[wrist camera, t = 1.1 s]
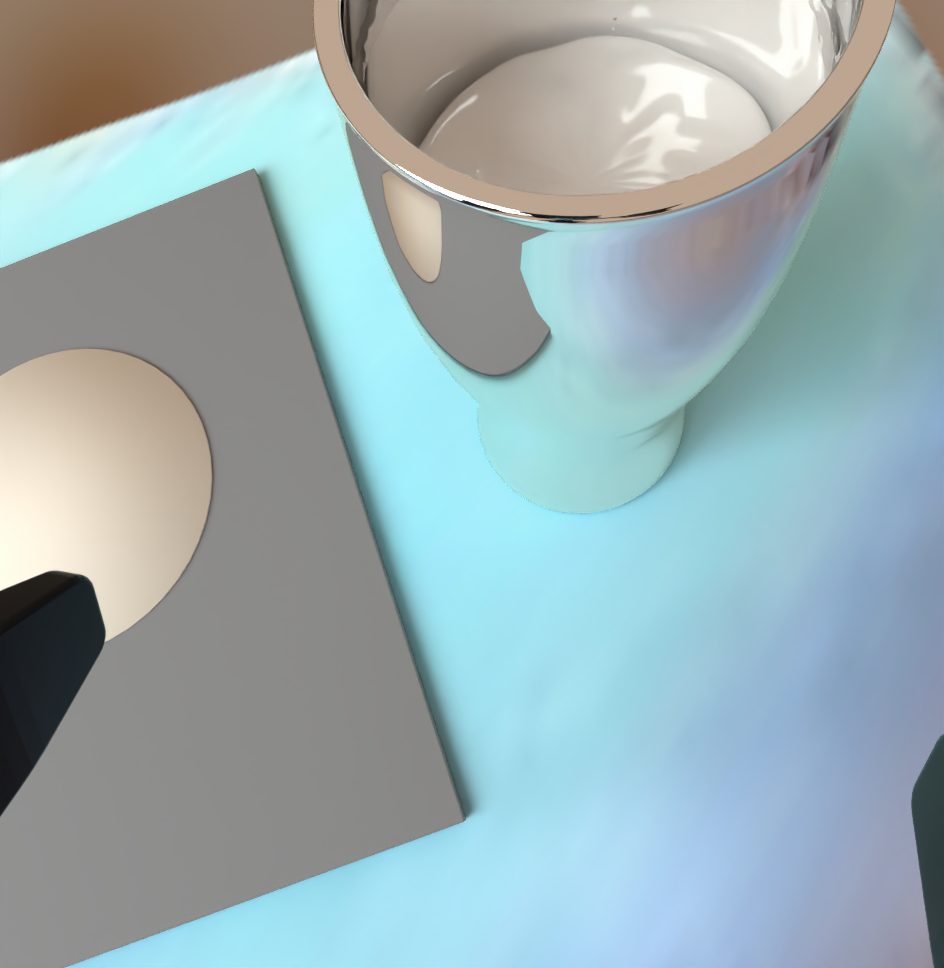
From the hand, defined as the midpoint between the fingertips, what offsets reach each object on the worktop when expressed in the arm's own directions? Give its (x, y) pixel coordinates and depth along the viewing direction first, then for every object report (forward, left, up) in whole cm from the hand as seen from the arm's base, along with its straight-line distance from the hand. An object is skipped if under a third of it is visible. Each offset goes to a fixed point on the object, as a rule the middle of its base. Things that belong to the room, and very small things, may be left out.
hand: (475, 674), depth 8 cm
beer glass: (+7, -4, -14) cm, 16 cm away
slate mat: (+8, +12, -14) cm, 20 cm away
